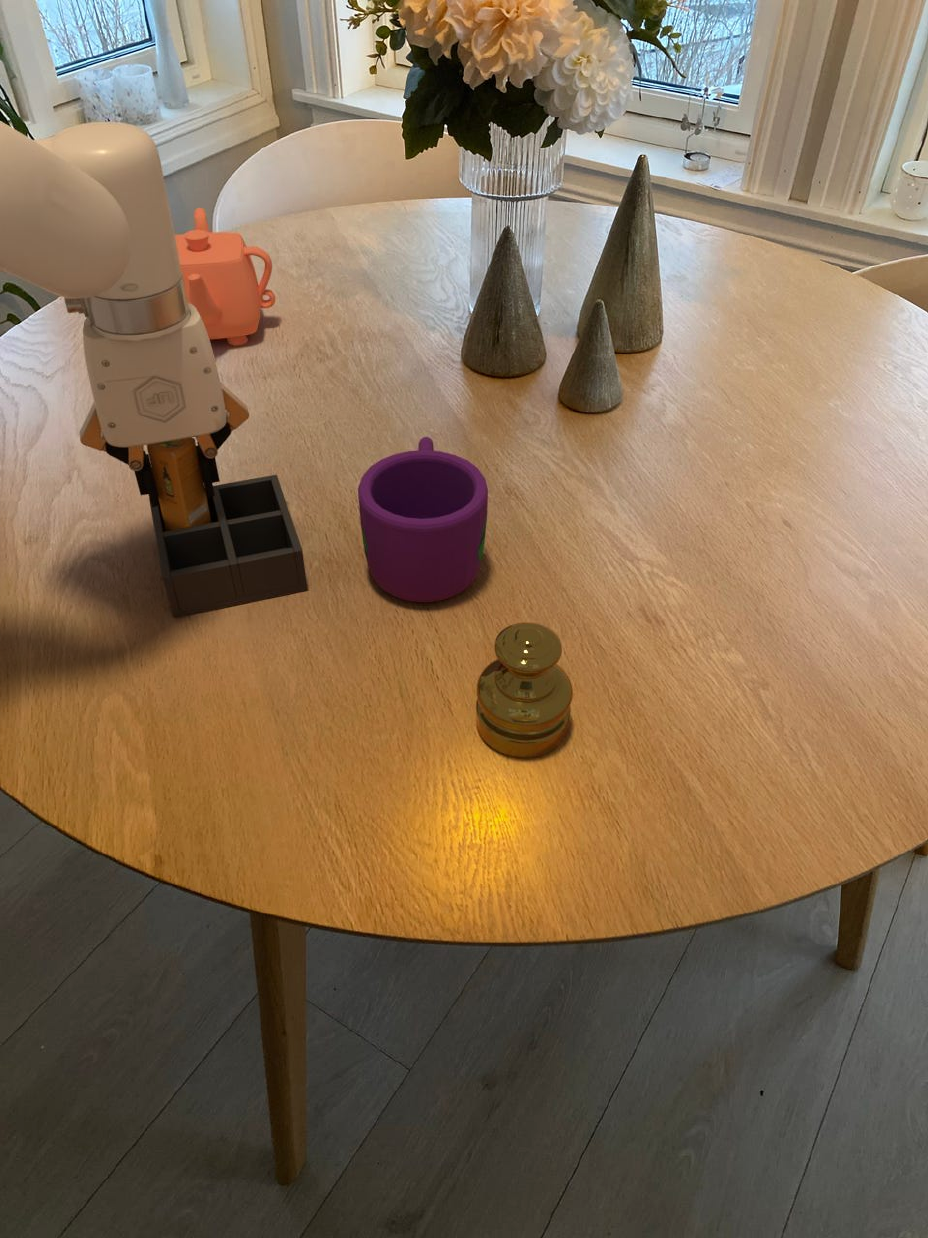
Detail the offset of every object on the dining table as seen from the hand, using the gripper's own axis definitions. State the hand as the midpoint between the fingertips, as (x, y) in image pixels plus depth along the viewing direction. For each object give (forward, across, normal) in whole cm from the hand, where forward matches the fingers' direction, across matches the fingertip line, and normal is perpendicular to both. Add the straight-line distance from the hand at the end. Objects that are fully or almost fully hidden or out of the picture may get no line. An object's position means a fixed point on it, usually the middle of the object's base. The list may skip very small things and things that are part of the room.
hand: (181, 491), depth 87 cm
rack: (+7, +3, -3) cm, 8 cm away
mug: (+7, +21, -7) cm, 23 cm away
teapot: (+7, +8, +44) cm, 46 cm away
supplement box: (+5, 0, 0) cm, 5 cm away
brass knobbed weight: (+7, +22, -30) cm, 38 cm away
